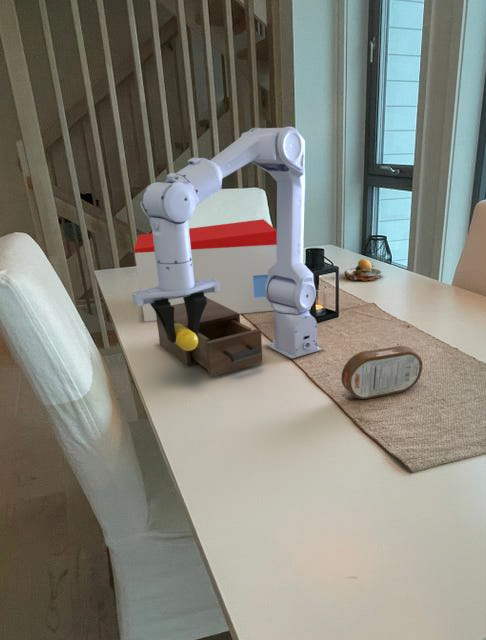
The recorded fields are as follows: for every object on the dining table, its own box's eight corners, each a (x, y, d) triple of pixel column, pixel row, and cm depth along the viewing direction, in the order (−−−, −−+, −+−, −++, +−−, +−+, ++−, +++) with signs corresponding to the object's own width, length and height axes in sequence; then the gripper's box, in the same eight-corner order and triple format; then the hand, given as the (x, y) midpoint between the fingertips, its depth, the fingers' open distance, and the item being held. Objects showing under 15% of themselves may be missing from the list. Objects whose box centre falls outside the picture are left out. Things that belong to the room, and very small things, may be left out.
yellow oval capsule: (202, 351, 87) (200, 332, 85) (183, 355, 85) (181, 336, 84) (182, 335, 94) (180, 318, 92) (164, 339, 92) (161, 322, 91)
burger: (377, 272, 173) (378, 250, 170) (384, 281, 163) (385, 257, 160) (341, 273, 173) (342, 251, 170) (346, 282, 162) (347, 258, 159)
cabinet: (242, 351, 110) (239, 313, 107) (187, 366, 103) (183, 326, 100) (211, 333, 121) (207, 297, 117) (160, 345, 114) (155, 308, 110)
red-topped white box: (280, 310, 136) (278, 230, 128) (144, 321, 129) (132, 238, 121) (267, 289, 155) (264, 219, 147) (147, 298, 147) (137, 225, 139)
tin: (413, 383, 95) (417, 340, 91) (423, 390, 92) (427, 347, 89) (340, 397, 90) (340, 353, 87) (347, 405, 87) (348, 360, 84)
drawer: (274, 369, 99) (273, 336, 96) (222, 385, 93) (219, 350, 90) (229, 342, 112) (227, 313, 110) (181, 355, 106) (177, 324, 103)
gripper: (205, 250, 90) (211, 323, 95) (122, 262, 82) (134, 340, 88) (222, 257, 85) (228, 334, 90) (135, 270, 77) (147, 353, 82)
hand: (183, 338), depth 89 cm, fingers closed on yellow oval capsule, 3 cm apart
